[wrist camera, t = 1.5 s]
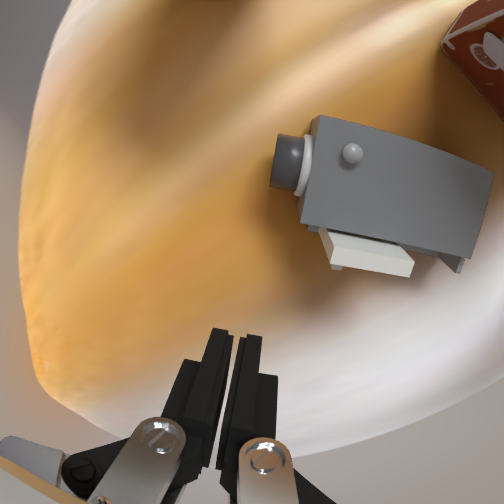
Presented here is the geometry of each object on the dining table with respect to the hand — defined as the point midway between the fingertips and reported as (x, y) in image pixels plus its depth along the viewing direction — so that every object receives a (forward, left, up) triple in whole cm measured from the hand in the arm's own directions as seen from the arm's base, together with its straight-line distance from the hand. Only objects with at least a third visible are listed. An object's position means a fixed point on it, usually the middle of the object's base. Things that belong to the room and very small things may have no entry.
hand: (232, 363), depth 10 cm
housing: (-11, -5, -22) cm, 25 cm away
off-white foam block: (-9, 0, -21) cm, 23 cm away
